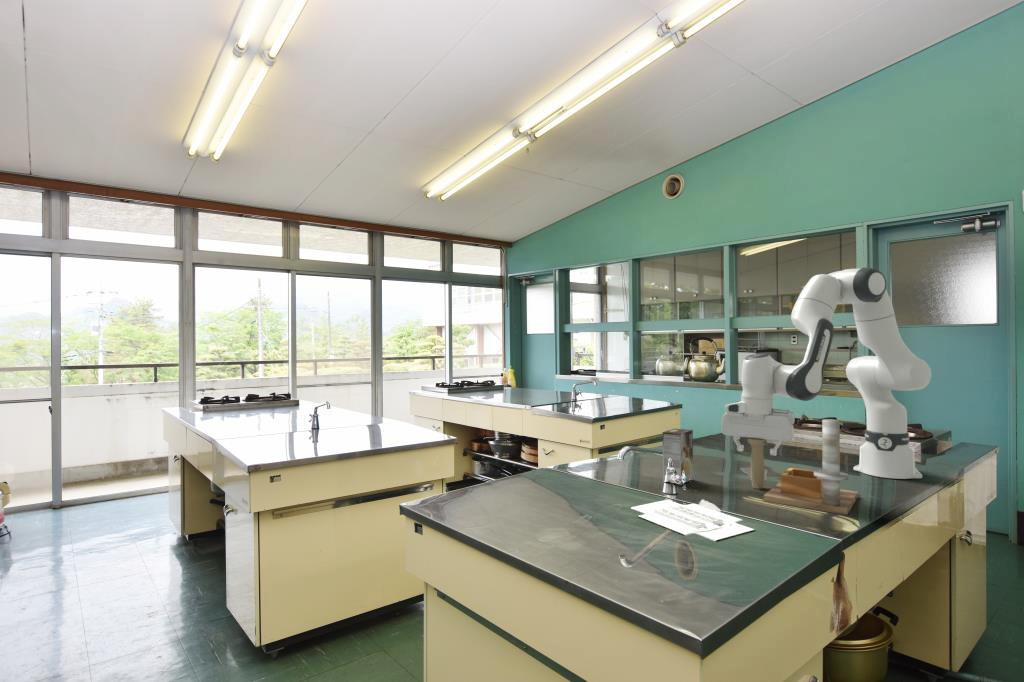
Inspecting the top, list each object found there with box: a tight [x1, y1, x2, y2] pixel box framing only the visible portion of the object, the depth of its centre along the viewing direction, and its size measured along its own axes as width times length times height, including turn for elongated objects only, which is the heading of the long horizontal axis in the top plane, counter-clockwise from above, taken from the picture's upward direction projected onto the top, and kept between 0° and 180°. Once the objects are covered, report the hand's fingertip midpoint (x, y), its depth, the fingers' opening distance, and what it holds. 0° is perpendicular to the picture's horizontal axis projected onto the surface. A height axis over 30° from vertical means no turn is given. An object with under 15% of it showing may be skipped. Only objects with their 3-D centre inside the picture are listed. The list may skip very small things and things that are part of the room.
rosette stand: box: [763, 418, 859, 516], centre depth 153 cm, size 21×20×24 cm
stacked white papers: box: [630, 498, 756, 542], centre depth 138 cm, size 20×28×4 cm
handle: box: [747, 437, 768, 490], centre depth 165 cm, size 5×6×15 cm
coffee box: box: [662, 428, 694, 483], centre depth 174 cm, size 9×6×16 cm
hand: (756, 453), depth 165 cm, fingers open, 8 cm apart
